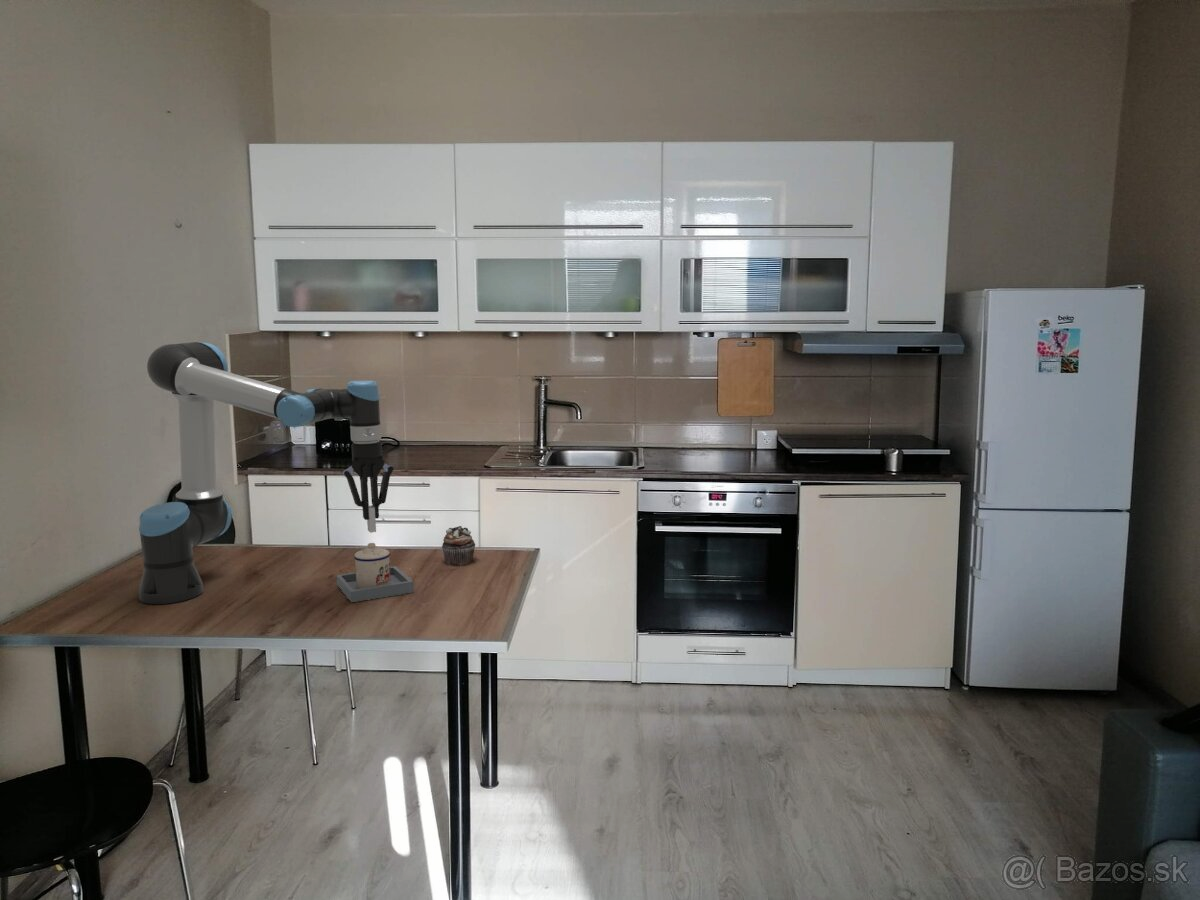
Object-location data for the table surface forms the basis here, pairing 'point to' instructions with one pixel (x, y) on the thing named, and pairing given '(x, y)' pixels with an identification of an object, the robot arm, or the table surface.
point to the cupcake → (458, 546)
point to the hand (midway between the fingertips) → (371, 531)
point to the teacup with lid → (372, 567)
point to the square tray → (397, 586)
